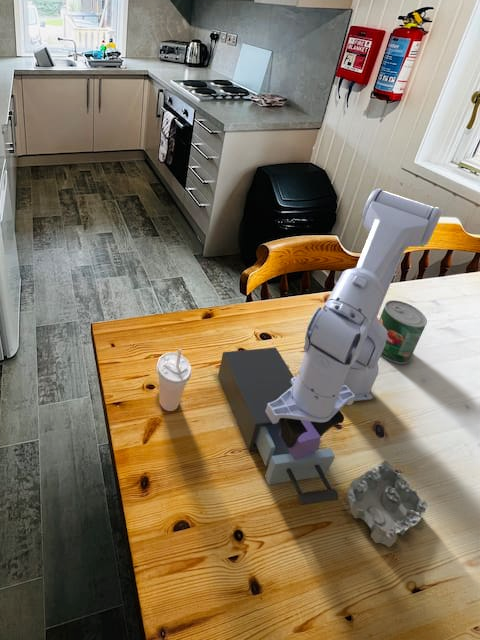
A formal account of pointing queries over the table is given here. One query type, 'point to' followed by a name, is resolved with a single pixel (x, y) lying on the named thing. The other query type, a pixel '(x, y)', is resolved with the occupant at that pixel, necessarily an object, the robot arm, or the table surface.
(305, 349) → the robot arm
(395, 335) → the canned tomato
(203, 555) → the table surface
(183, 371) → the smoothie
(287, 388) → the dark grey drawer box
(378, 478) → the egg carton
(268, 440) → the grey drawer
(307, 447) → the purple cube
